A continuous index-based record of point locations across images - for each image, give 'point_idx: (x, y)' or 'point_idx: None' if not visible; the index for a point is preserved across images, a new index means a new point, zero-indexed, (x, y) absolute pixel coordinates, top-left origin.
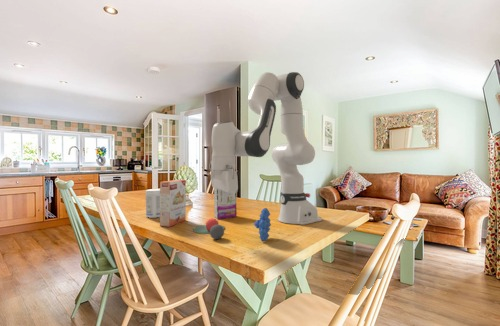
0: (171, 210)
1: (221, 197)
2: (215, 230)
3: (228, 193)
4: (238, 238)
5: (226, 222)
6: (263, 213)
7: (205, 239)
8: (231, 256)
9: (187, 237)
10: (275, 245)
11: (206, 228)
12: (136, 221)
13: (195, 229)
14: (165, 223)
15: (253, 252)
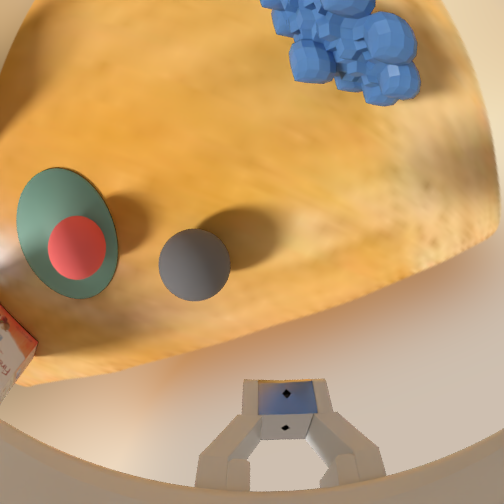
0: (6, 368)
1: (271, 438)
2: (220, 288)
3: (378, 449)
4: (238, 157)
5: (4, 144)
6: (413, 46)
7: None
8: (405, 266)
9: (145, 335)
10: None
11: None
12: None
13: (64, 289)
14: (31, 355)
15: (420, 186)
